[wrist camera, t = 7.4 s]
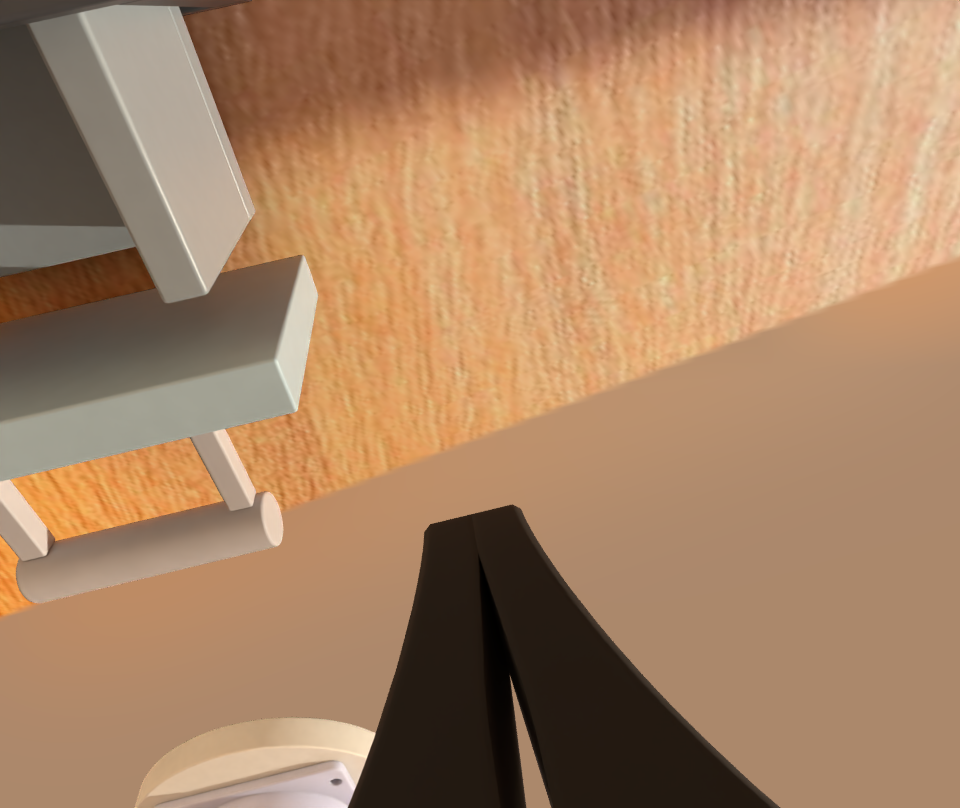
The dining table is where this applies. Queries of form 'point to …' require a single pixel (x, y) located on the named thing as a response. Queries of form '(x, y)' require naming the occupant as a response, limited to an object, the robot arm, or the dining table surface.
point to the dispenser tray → (138, 316)
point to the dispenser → (90, 8)
